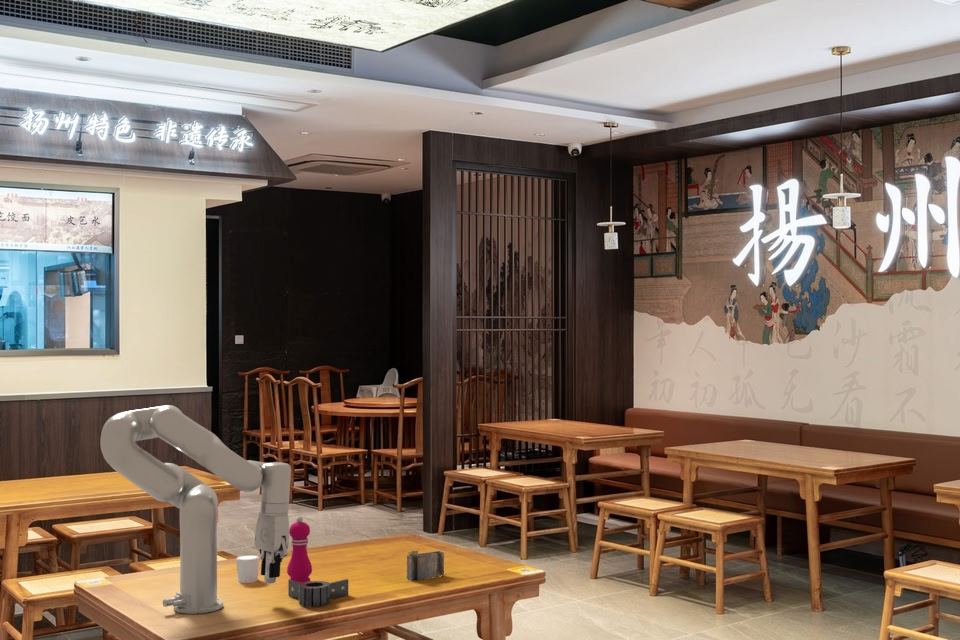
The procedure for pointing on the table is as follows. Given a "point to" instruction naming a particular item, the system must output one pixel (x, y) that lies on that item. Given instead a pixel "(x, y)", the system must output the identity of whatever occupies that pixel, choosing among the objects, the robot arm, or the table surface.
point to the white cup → (248, 568)
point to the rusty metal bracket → (425, 565)
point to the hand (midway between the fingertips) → (270, 575)
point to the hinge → (317, 592)
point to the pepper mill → (299, 552)
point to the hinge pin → (267, 564)
